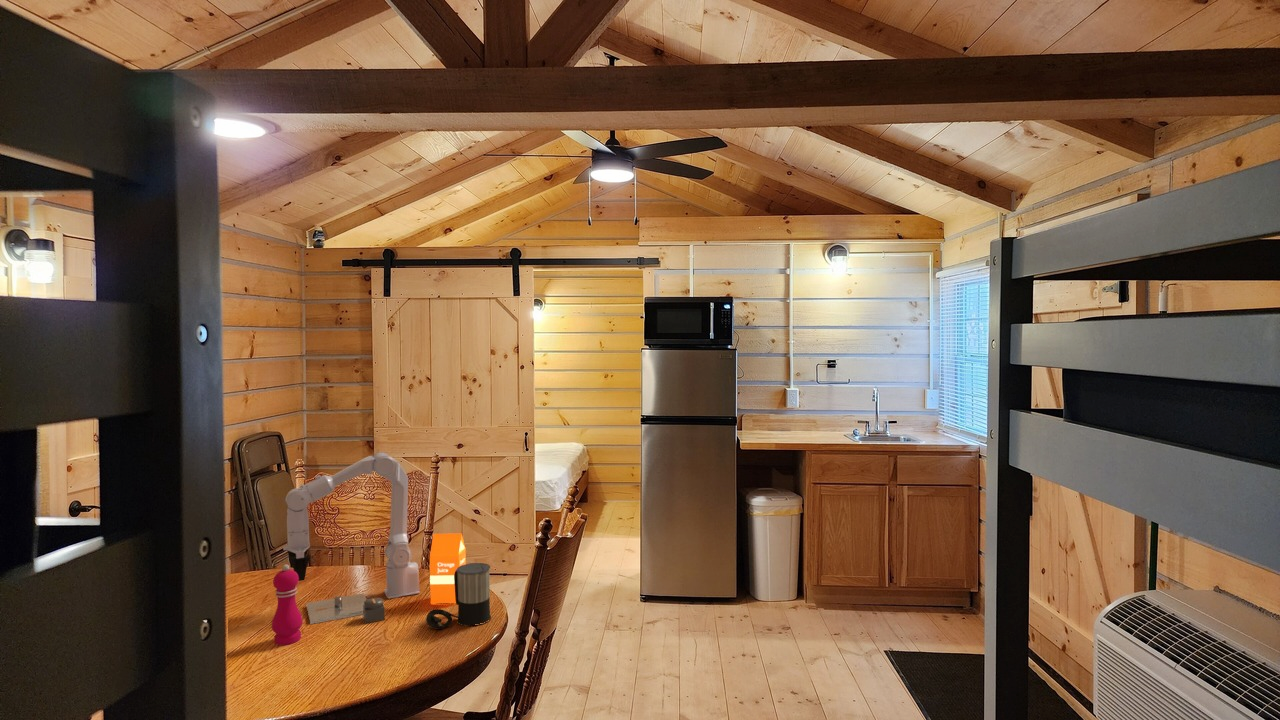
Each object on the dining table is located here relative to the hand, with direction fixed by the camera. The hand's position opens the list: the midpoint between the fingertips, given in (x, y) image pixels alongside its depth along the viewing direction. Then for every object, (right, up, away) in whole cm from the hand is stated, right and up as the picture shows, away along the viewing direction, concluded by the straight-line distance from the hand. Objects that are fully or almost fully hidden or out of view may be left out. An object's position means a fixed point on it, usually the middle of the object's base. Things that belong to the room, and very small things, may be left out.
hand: (299, 576), depth 206 cm
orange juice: (+42, -9, +7) cm, 43 cm away
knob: (+24, -10, -7) cm, 27 cm away
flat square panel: (+11, -10, +1) cm, 15 cm away
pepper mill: (+7, -10, -21) cm, 24 cm away
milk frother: (+50, -10, -11) cm, 52 cm away
